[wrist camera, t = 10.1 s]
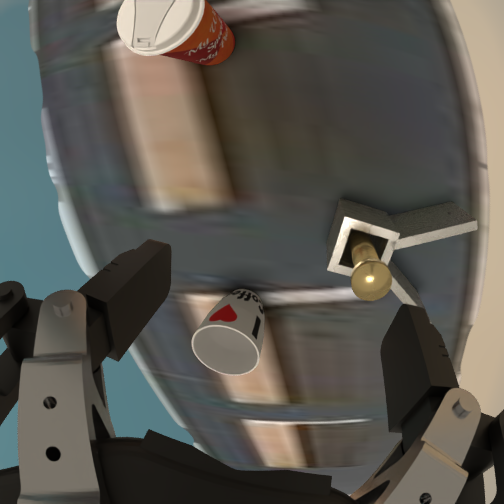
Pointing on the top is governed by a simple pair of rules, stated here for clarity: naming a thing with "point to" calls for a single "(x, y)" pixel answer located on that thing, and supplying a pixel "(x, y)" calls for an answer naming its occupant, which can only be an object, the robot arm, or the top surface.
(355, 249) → the pin
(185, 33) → the paper cup
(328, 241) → the grey finned stand
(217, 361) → the cup
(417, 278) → the top surface
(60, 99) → the top surface
